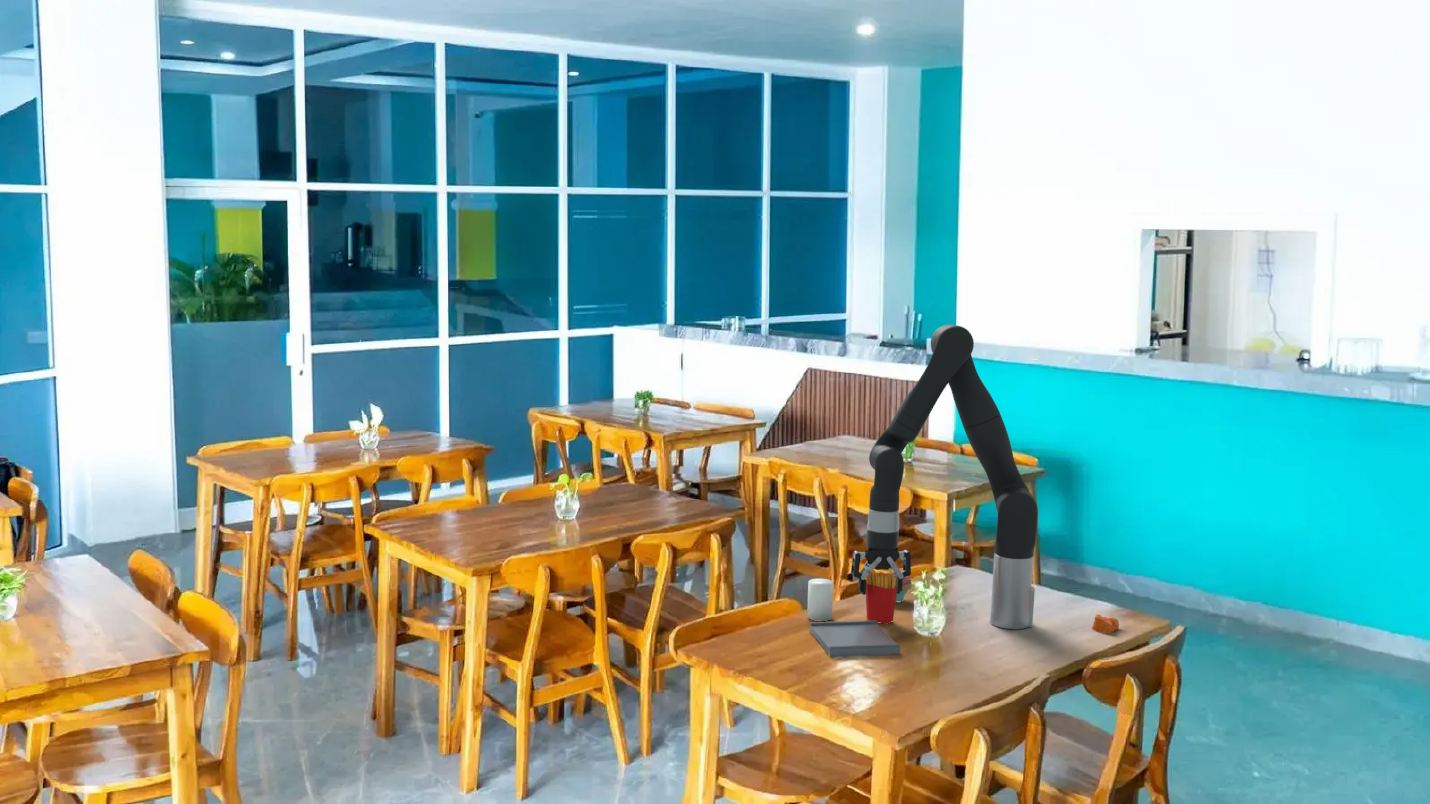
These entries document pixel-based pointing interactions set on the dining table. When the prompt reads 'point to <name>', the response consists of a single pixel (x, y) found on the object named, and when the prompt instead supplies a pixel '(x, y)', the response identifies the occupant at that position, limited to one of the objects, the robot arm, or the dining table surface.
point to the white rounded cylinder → (820, 599)
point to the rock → (1105, 624)
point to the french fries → (880, 596)
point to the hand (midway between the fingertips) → (879, 593)
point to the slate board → (853, 638)
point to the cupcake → (905, 586)
